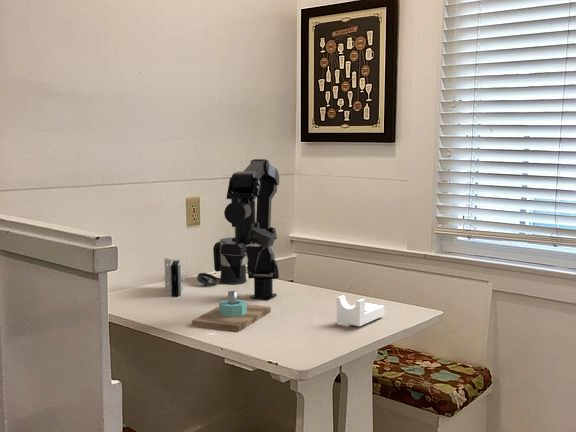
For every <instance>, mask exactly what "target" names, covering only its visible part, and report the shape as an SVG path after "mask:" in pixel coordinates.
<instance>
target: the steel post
mask: <svg viewBox="0 0 576 432" xmlns="http://www.w3.org/2000/svg"><path fill="white" fill-rule="evenodd" d="M227 300H228V304H230V305H234V304H237V300H238V292H237V291H236V290H229V291H227Z"/></svg>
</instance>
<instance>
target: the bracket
mask: <svg viewBox="0 0 576 432" xmlns="http://www.w3.org/2000/svg"><path fill="white" fill-rule="evenodd" d="M384 316H385V305H380V304H374V303H370V302H369V303H368V302H366V299H365V298H360V299H358V300H356V304H354V305H350V304H349V303H348V301H347V299H346V295H340V296H337V297H336V325H338V326H339V325H340V326H345V327H350V326H356V327H362V326H364V325H365V324H368V323H371V322H372V321H375V320H377V319H379V318H382V317H384Z"/></svg>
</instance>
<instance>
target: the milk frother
mask: <svg viewBox="0 0 576 432" xmlns="http://www.w3.org/2000/svg"><path fill="white" fill-rule="evenodd" d="M232 238H233V237H223V238H220V239H219V241H217V242H215V243H214V245H213V252H212V253H213V266H214V269H213V270H214V271H215V272H218V273H219V272H220V277H219V278H218V277H216V276H214V275H212V274H209V273H207V272H199V273H198V274H197V276H196V278H197V281H198V282H199V283H200V284H203V285H204V286H206V287H207V286H216V285H217V284H218V280H219V282H220V283H221V284H226V285H240V284H244V283H246V282H247V281H248V280H247V270H246V268H247V263H246V262H247V260H246V259H247V255H246V256H245V257H244V258H243V260H242V268H241V277H240V278H236V276H235V274H234V272H233V270H232V268H231V267H230V265H229V263H228V261H227V260H226V258H225V256H223V254H220V246H221V245H222V244H223V243H226V242H232ZM245 254H246V253H245ZM211 280H212V282H211Z"/></svg>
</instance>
